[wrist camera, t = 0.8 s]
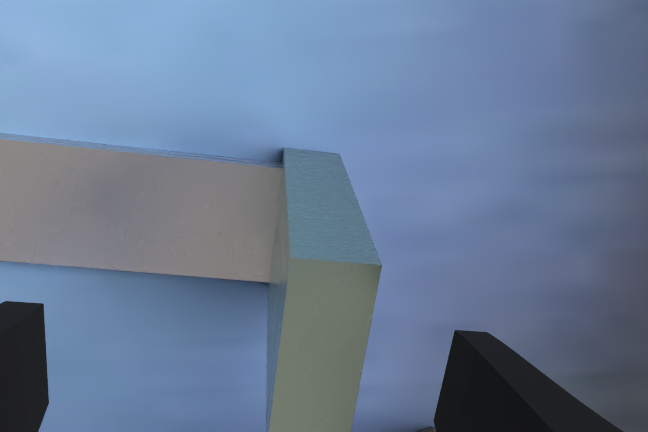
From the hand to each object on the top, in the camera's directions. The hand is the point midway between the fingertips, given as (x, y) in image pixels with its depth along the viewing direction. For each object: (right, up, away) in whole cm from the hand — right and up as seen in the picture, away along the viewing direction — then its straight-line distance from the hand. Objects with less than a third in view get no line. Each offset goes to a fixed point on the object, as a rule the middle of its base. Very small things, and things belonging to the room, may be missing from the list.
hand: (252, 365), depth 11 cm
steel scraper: (-6, +3, +8) cm, 11 cm away
